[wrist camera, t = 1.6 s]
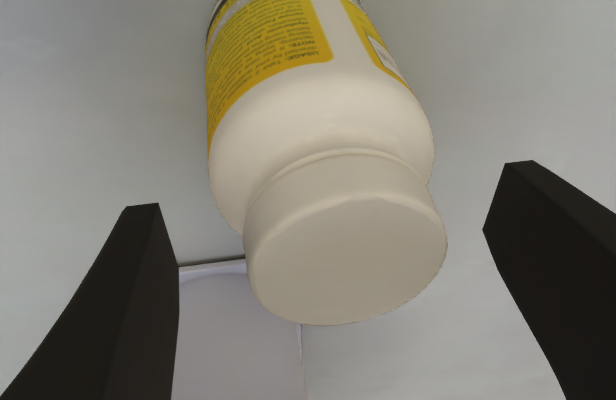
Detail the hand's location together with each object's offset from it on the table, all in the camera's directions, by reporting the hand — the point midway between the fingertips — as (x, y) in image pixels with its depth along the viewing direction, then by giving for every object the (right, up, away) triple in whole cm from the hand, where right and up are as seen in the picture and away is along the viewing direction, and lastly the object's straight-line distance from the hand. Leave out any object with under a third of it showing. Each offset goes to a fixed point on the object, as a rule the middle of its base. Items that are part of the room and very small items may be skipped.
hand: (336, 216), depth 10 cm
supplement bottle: (-1, +6, +6) cm, 9 cm away
